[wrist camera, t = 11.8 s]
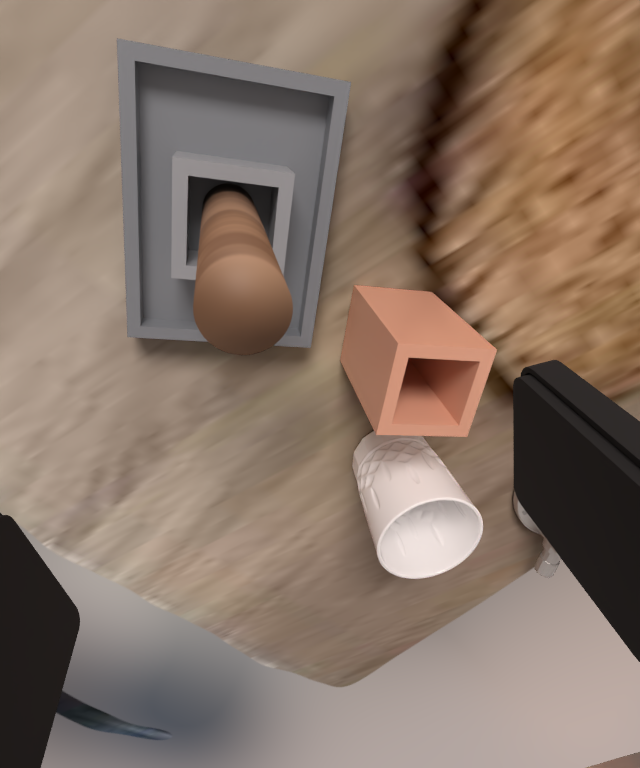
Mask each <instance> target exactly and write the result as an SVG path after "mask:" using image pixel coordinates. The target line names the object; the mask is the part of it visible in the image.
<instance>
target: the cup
mask: <svg viewBox="0 0 640 768" xmlns="http://www.w3.org/2000/svg"><path fill="white" fill-rule="evenodd" d="M496 351H497V349H496V348H494V347H493V346H492V345H491V344H490V343H489V342H488V341H487V340H485V339H484V338H483V337H482V336H481V335H480V334H479V333H477V332H476V331H475V330H474V329H473V328H472V327H471V326H470V325H468V324H467V323H466V322H465V321H464V320H463V319H462V318H460V317H459V316H458V315H457V314H456V313H455V312H454V311H453V310H451V309H450V308H449V307H448V306H447V305H446V304H445V303H443V302H442V301H441V300H440V299H439V298H438V297H437V296H436V295H434V294H433V293H432V292H426V291H415V290H404V289H392V288H381V287H370V286H359V285H354V288H353V293H352V299H351V304H350V310H349V315H348V320H347V326H346V331H345V337H344V342H343V348H342V353H341V358H340V361H341V363H342V365H343V367H344V369H345V372H346V374H347V376H348V378H349V380H350V382H351V384H352V386H353V388H354V390H355V392H356V394H357V396H358V398H359V400H360V403H361V405H362V407H363V409H364V411H365V413H366V415H367V417H368V419H369V421H370V423H371V425H372V427H373V429H374V431H375V434H376V435H405V436H460V437H467V436H468V433H469V430H470V427H471V424H472V421H473V418H474V415H475V412H476V409H477V406H478V404H479V401H480V398H481V395H482V392H483V389H484V386H485V383H486V380H487V377H488V374H489V371H490V369H491V366H492V363H493V360H494V357H495V354H496Z"/></svg>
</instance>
